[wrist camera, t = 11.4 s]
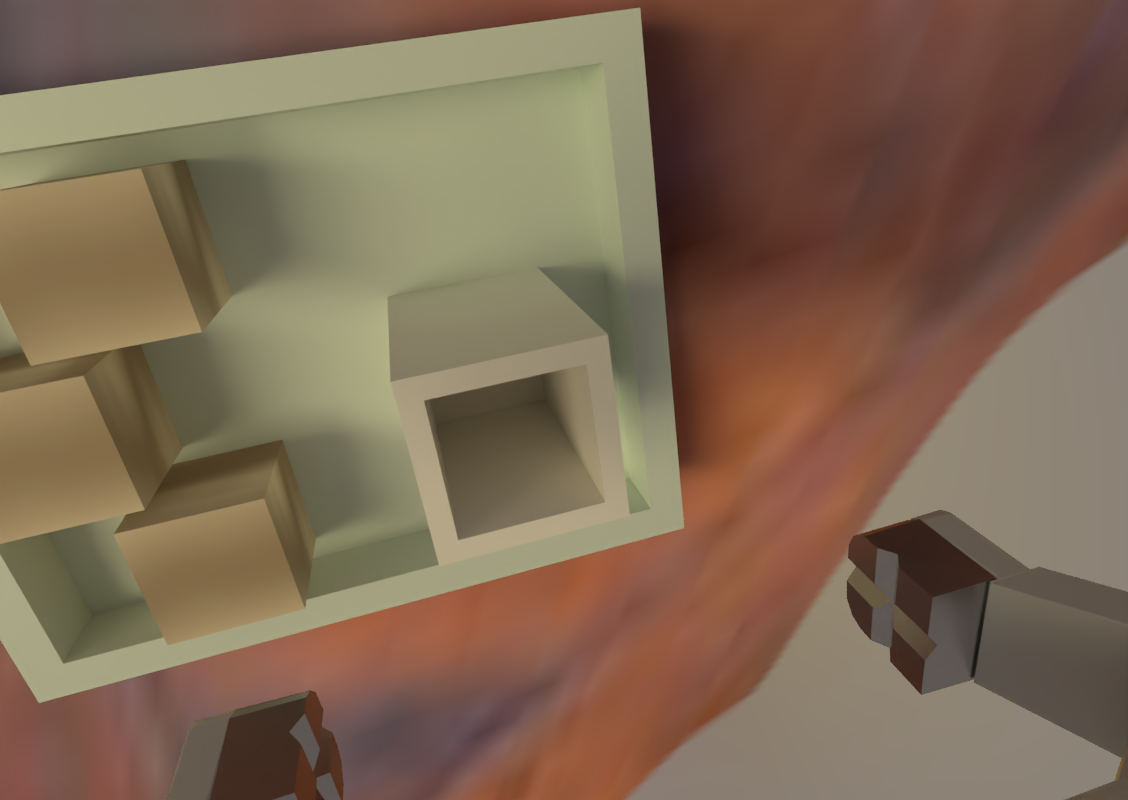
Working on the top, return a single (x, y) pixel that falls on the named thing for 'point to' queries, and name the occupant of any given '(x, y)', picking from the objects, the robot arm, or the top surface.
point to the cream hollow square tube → (506, 412)
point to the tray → (357, 297)
